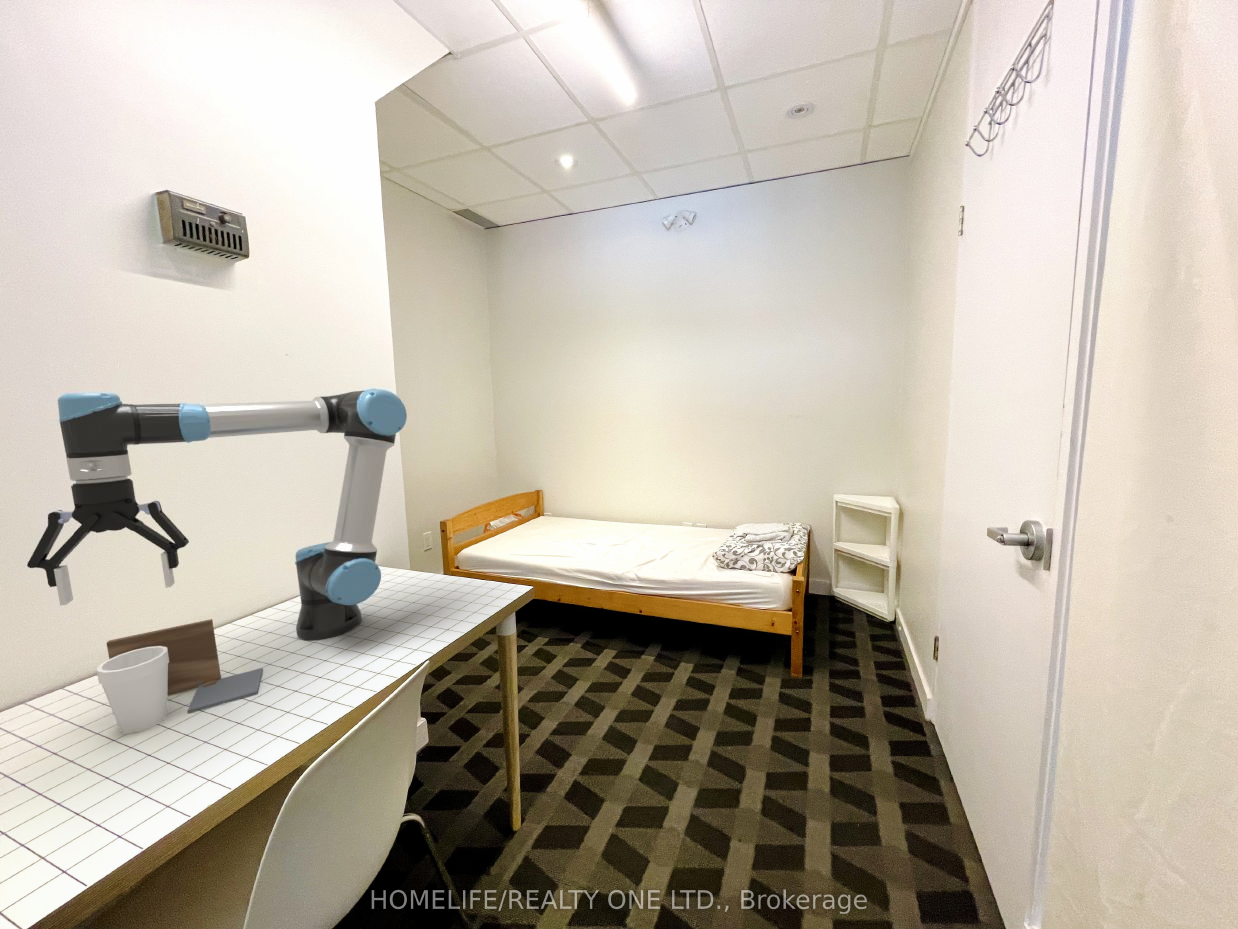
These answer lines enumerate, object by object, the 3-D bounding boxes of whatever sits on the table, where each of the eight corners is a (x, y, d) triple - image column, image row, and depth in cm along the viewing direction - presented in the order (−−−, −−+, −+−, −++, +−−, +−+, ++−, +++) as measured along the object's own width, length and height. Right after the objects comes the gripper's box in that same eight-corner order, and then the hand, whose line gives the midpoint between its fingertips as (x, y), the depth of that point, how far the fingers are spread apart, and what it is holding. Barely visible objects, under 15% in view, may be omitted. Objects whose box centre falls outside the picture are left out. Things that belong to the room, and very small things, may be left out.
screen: (123, 700, 98) (112, 636, 96) (222, 675, 106) (213, 615, 105) (114, 713, 94) (102, 646, 92) (218, 685, 102) (209, 624, 101)
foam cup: (189, 711, 93) (179, 649, 92) (128, 743, 85) (115, 675, 83) (159, 703, 97) (148, 643, 95) (97, 733, 88) (85, 668, 86)
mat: (199, 687, 102) (199, 684, 102) (262, 670, 108) (262, 667, 108) (187, 713, 93) (187, 710, 93) (257, 693, 99) (257, 691, 99)
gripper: (-19, 490, 75) (6, 618, 78) (189, 474, 88) (204, 584, 91) (7, 485, 81) (29, 603, 84) (198, 471, 95) (212, 573, 97)
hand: (120, 593), depth 87 cm, fingers open, 13 cm apart
